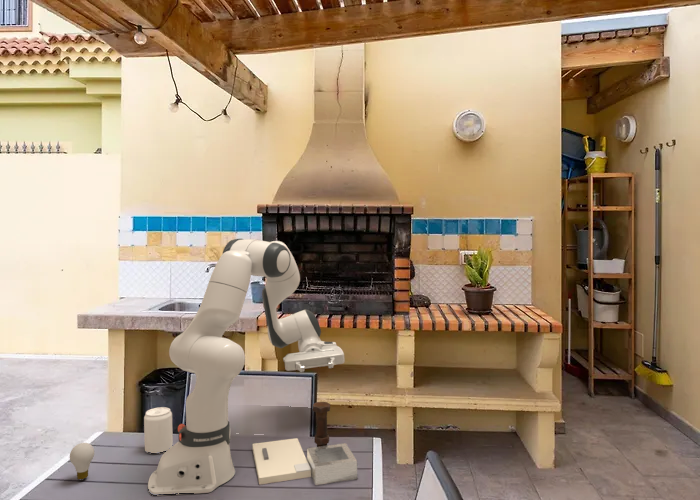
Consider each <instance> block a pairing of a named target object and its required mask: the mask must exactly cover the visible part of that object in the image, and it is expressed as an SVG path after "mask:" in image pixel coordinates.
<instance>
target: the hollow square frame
mask: <svg viewBox="0 0 700 500" xmlns="http://www.w3.org/2000/svg"><path fill="white" fill-rule="evenodd" d="M306 456H307V457H306V460H307V462H308V463H309V466H310V468H311V478H312V480H313V483H314V485H315V486H320V485H327V484H331V483H332V484H333V483H341V482H346V481H351V480H358V460H357V459H356V457H355V455H354V454H353V452H352V451H351V449H350V447H349V446H348V443H343V442H342V443H337V444H330V445H328V444H327V446H321V447H317V446H314V447H308V448H306Z"/></svg>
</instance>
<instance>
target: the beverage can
mask: <svg viewBox="0 0 700 500" xmlns="http://www.w3.org/2000/svg"><path fill="white" fill-rule="evenodd" d="M143 425H144V426H143V431H144V433H143V434H144V436H143V437H144V451H145V452H146V451H147V452H146V453H148V452H151V453H157V452H163V451H166V450H168V449H169V448H171V447H172V445H174V442H173V441H174V440H173V439H174V438H173V435H174V434H173V412H172V411H171V408H169V407H165V406H161V407H155V408H151V409H148V410H146V411H145V415H144V417H143ZM151 453H150V454H151ZM163 453H164V452H163Z"/></svg>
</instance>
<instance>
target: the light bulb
mask: <svg viewBox="0 0 700 500" xmlns="http://www.w3.org/2000/svg"><path fill="white" fill-rule="evenodd" d="M94 456H95V448H94V446H93V445H92V444H90V443H89V442H80V443H78V444H76V445H74V447H72V449H71V450H70V452H69V461H70V462H71V464H72V465H73V466H74V469H75V472H76V478H77V479H78V480H79V479H84V478H86V479H87V478H89V469H90V465H91V462H92V461H93V459H94Z"/></svg>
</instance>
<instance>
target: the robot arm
mask: <svg viewBox="0 0 700 500" xmlns="http://www.w3.org/2000/svg"><path fill="white" fill-rule="evenodd" d="M213 268H214V269H213V270H212V273H211V275H210V278H209V280H208V283H207V287H206V289H205V291H204V295H203V298H202V300H201V304H200V305H199V308H198V310H197V312H196V314H195V315H194V317H193V319H192V320H191V322H190V323H189V325H188V326H187V327H186V329H185V330H184V331H183V332H181V333H180V334H179V335H177V336H175V338H174V339H173V340H172V341H171V343H170V346H169V350H168V356H169V358H170V361H171V362H172V363H173V364H174V365H175V366H176V367H177V368H179V369H181V370H182V371H184V372H188V373H191V374H195V385H194V389H193V390H192V392H190V393H189V394H188V396H187V397H186V399H185V401H186V402H185V417H186V418H185V422H186V423H185V424H186V425H185V424H184V423H180V424H179V425H178V426H177V432H178V441H177V442H176V443H175V444H173V446H172V447H171V448H170V449H168V450H167V451H166V452H163V453H162V456H161V457H160V459H159V462H158V464H157V468H156V470H154V471H153V472H152V473H151V475H150V476H149V478H148V482H147V490H148V489H149V491H150V492H151V493H153V494H172V493H174V494H175V493H178V494H177V495H180V494H179V493H194V494H208V493H212V492H213V491H214V490H215V489H217V488H218V487H219V486H221V485H223V484H226V483H228V482H229V481H230V480H231V479H233V477H235V476H234V475H236V470H235V466H234V463H233V459H232V454H231V448H230V447H231V446H230V443H231V425H230V421H229V394H230V389H231V386H232V384H233V381H234V379H235V378H236V377H238V375H240V373H241V372H242V371H243V368H244V366H245V362H246V356H245V351H244V349H243V347H242V346H241V345H240V344H239V343H236V342H235V341H234V340H232V339H229V338H226V337H223V336H224V334H225V333H226V331H227V330H228V328H230V327H231V326H232V325H233V324H235V323H236V322H237V321H239V318H240V315H241V312H242V310H243V306H244V304H245V303H244V302H245V299H246V296H247V293H248V290H249V286H250V284H251V283H250V281H251V277H252V276H253V277H262V278H263V277H264V278H266V285H265V287H264V288H263V289H262V292H261V299H262V301H263V302H262V303H263V309H264V314H265V315H264V316H265V320H266V324H267V337H268V340H269V341H270V343H271V345H272V346H273V347H276V348H279V349H283V348H285V347H287V346H289V345H290V344H293V343H295V342H297V346H298V351H299V352H293V353H287V354H286V355H285V356H283V358H282V359H283V362H284V368H285V369H284V370H286V371H287V372H291V371H296V370H297V371H299V372H300V373H303V372H305V369H312V368H313V369H314V368H318V367H319V368H321V367H328V369H332V368H334V366H335V365H342V364H344V363H345V361H346V360H345V353H344V350H343V349H342V348H341V347H340V346H338V345H337V343H336V342H335V341H323V340H322V339H321V338H320V337H321V334H322V331H321V330H322V329H321V326H320V322H318V319H317V317H316V315H315V313H314V312H312V311H311V310H308V309H303V310H300V311H298V312H295V313H292V314H290V315H288V316H285V317H282V318H278V313H277V308H278V306H279V305H280V304H281V303H282V302H283V301H284V300H285V299H287V298H288V297H290V296H291V295H292V294H294V293H295V291H297V289H298V287H299V285H300V282H301V274H300V271H299V267H298V265H297V263H296V260H295V257H294V256H293V253H292V252H291V251H290V249H289V248H288V246H287V245H286V244H285V242H283V241H280V240H273V241H266V240H260V239H258V238H257V239H254V238H234V239H231V240H230V241H228V242H227V243H226V245H225V246H224V248H223V250H222V254H221V256H220V257H219V259H218V260H217V263H216V264H215V266H214V267H213ZM149 491H148V492H149Z"/></svg>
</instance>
